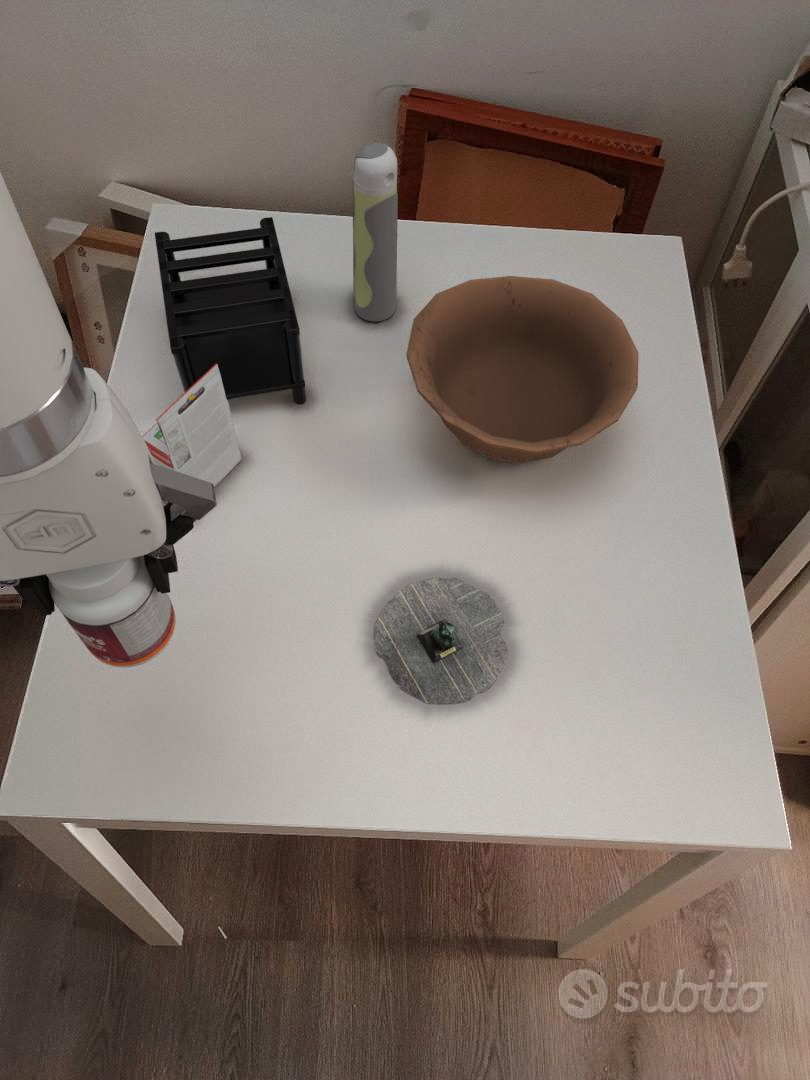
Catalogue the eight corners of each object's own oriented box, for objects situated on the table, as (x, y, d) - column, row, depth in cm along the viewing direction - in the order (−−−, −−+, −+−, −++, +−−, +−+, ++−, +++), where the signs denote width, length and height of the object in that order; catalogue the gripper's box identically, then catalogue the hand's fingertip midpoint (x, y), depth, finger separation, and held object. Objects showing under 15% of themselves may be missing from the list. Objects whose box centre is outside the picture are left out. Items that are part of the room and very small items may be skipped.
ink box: (162, 497, 81) (123, 402, 68) (216, 444, 84) (188, 343, 72) (190, 516, 80) (156, 422, 67) (244, 461, 83) (220, 362, 71)
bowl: (442, 323, 94) (450, 245, 84) (631, 378, 90) (662, 304, 81) (371, 472, 83) (371, 402, 74) (583, 541, 80) (611, 477, 71)
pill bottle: (66, 632, 56) (5, 552, 46) (136, 571, 59) (92, 484, 49) (127, 688, 55) (77, 618, 45) (196, 623, 57) (163, 543, 47)
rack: (193, 422, 86) (170, 349, 76) (176, 312, 93) (154, 232, 84) (307, 403, 87) (299, 329, 78) (282, 296, 95) (272, 216, 85)
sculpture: (470, 728, 71) (419, 679, 67) (401, 708, 78) (350, 661, 73) (531, 615, 76) (486, 561, 71) (460, 605, 82) (415, 555, 78)
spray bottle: (372, 330, 93) (372, 173, 75) (345, 306, 94) (338, 147, 77) (404, 310, 94) (412, 152, 77) (377, 286, 96) (378, 127, 79)
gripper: (-240, 502, 32) (-44, 668, 48) (211, 430, 35) (256, 610, 50) (-217, 357, 35) (-42, 556, 51) (190, 302, 38) (238, 507, 54)
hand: (105, 581), depth 51 cm, fingers closed on pill bottle, 6 cm apart
